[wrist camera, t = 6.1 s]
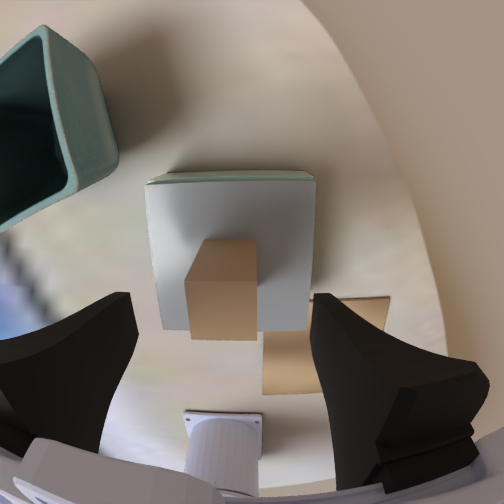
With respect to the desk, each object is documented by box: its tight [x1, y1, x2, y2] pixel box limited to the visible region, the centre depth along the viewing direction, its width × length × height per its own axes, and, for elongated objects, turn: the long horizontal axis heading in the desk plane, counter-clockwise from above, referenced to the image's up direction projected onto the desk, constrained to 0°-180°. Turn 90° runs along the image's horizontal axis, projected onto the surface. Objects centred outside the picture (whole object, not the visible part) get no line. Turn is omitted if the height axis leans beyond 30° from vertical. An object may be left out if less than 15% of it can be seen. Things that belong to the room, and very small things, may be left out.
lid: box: [144, 179, 316, 341], centre depth 15 cm, size 9×9×6 cm
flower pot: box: [0, 25, 119, 233], centre depth 14 cm, size 9×9×9 cm
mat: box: [263, 297, 390, 395], centre depth 24 cm, size 10×10×1 cm
